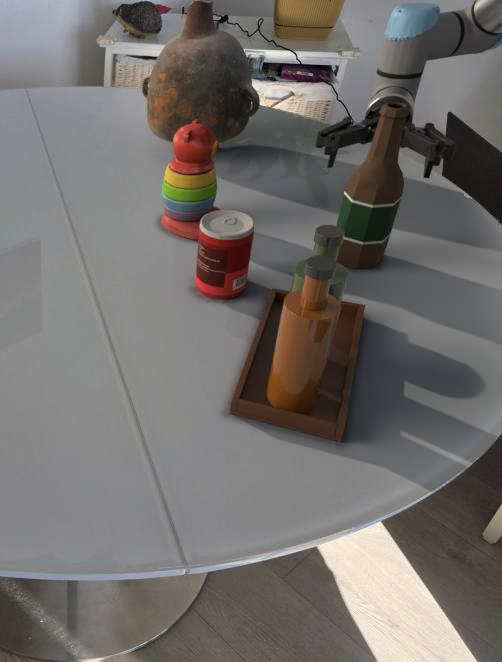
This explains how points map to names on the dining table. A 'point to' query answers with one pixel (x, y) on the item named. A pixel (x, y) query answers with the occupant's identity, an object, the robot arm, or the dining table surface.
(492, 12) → the robot arm
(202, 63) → the jug
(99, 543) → the dining table surface
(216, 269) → the canned food
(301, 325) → the amber bottle
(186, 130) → the stacking bear
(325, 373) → the tray
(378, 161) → the beer bottle
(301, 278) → the green bottle
